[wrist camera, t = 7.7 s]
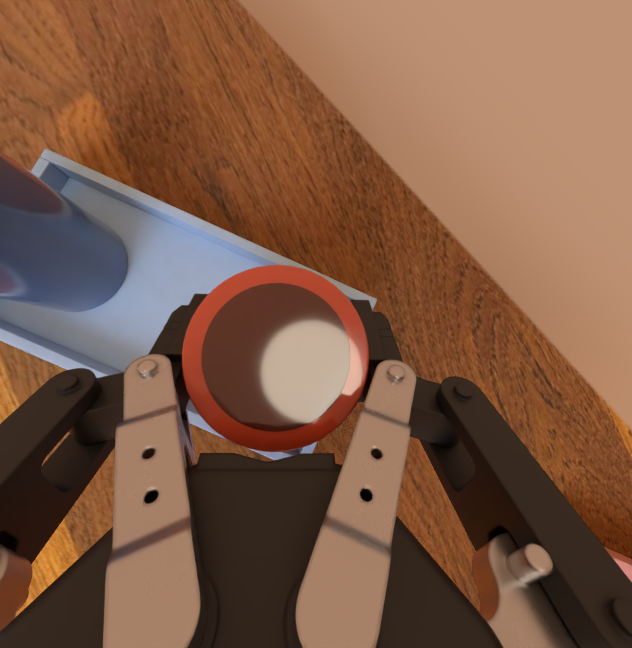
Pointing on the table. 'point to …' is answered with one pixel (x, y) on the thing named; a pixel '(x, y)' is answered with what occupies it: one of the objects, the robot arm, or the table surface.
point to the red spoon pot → (275, 358)
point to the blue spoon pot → (53, 246)
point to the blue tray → (136, 279)
